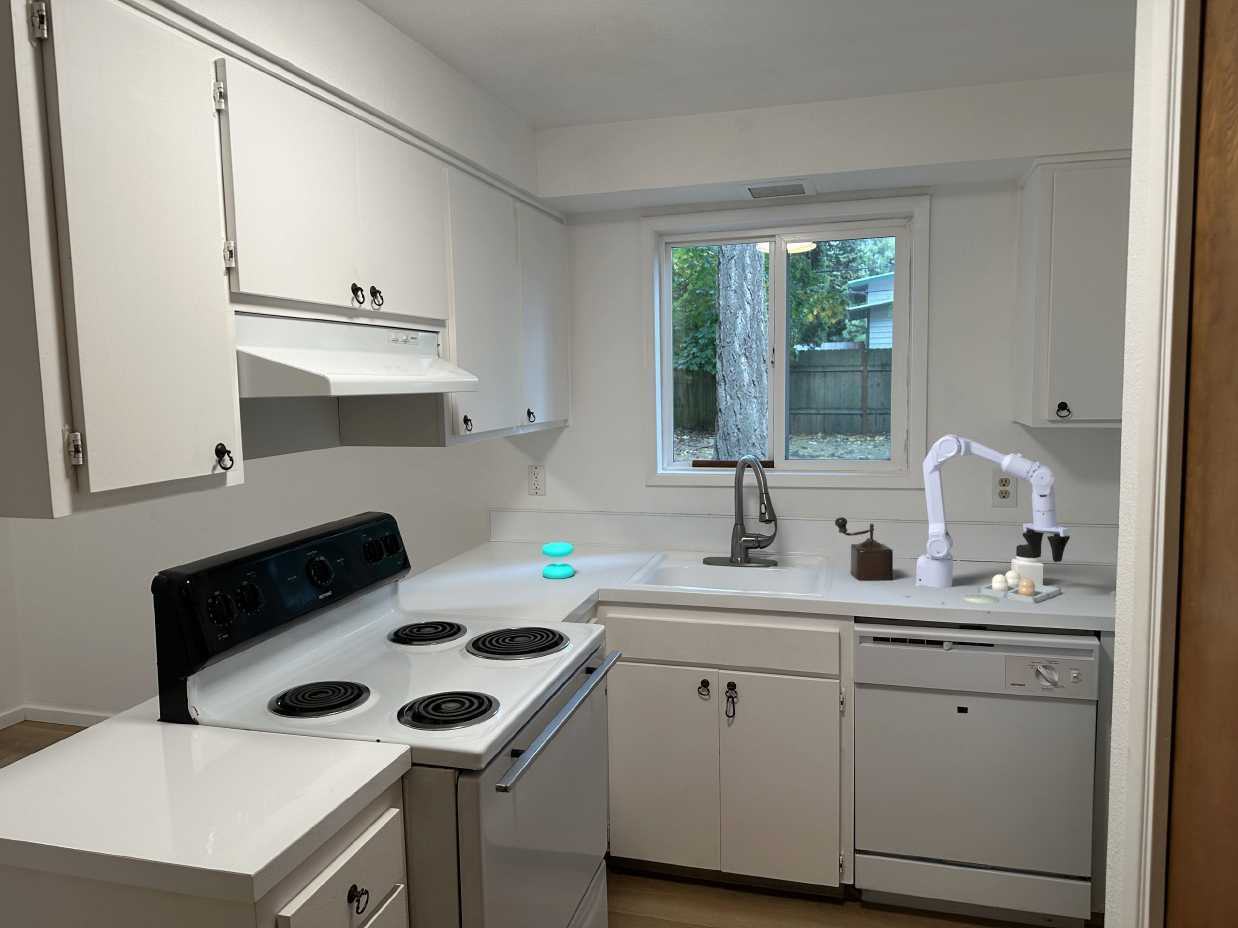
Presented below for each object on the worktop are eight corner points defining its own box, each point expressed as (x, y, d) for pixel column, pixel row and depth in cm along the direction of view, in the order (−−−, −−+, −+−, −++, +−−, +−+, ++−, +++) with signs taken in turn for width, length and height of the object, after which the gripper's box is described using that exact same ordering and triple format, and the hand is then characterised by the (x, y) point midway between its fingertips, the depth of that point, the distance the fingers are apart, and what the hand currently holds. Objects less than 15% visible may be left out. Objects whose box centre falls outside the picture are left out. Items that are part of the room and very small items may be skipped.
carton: (978, 595, 240) (978, 587, 240) (1005, 586, 250) (1005, 578, 250) (1034, 606, 229) (1034, 598, 228) (1060, 596, 238) (1060, 588, 238)
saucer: (956, 601, 234) (956, 598, 234) (973, 595, 240) (973, 593, 240) (988, 607, 228) (988, 604, 227) (1005, 601, 233) (1005, 599, 233)
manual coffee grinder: (882, 572, 271) (883, 515, 269) (893, 580, 260) (894, 521, 258) (832, 573, 271) (833, 516, 269) (841, 581, 260) (842, 522, 258)
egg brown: (1015, 597, 234) (1016, 578, 234) (1022, 595, 237) (1023, 576, 236) (1030, 600, 231) (1030, 581, 231) (1037, 597, 234) (1037, 578, 233)
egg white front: (989, 592, 240) (989, 574, 240) (996, 590, 243) (996, 572, 242) (1003, 595, 237) (1003, 576, 236) (1010, 592, 240) (1010, 574, 239)
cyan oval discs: (556, 540, 279) (580, 543, 273) (557, 571, 280) (580, 575, 274) (535, 545, 272) (558, 549, 265) (535, 576, 272) (559, 581, 266)
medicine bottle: (1043, 589, 247) (1044, 547, 245) (1016, 588, 248) (1017, 547, 247) (1036, 583, 253) (1037, 542, 252) (1010, 582, 255) (1011, 542, 254)
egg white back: (1002, 588, 245) (1002, 570, 244) (1008, 586, 247) (1009, 568, 247) (1016, 590, 242) (1016, 572, 241) (1022, 588, 244) (1023, 570, 244)
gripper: (1076, 510, 230) (1079, 561, 231) (1036, 506, 244) (1039, 553, 245) (1055, 513, 228) (1058, 564, 229) (1015, 509, 242) (1018, 557, 243)
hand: (1047, 559), depth 237 cm, fingers open, 7 cm apart
